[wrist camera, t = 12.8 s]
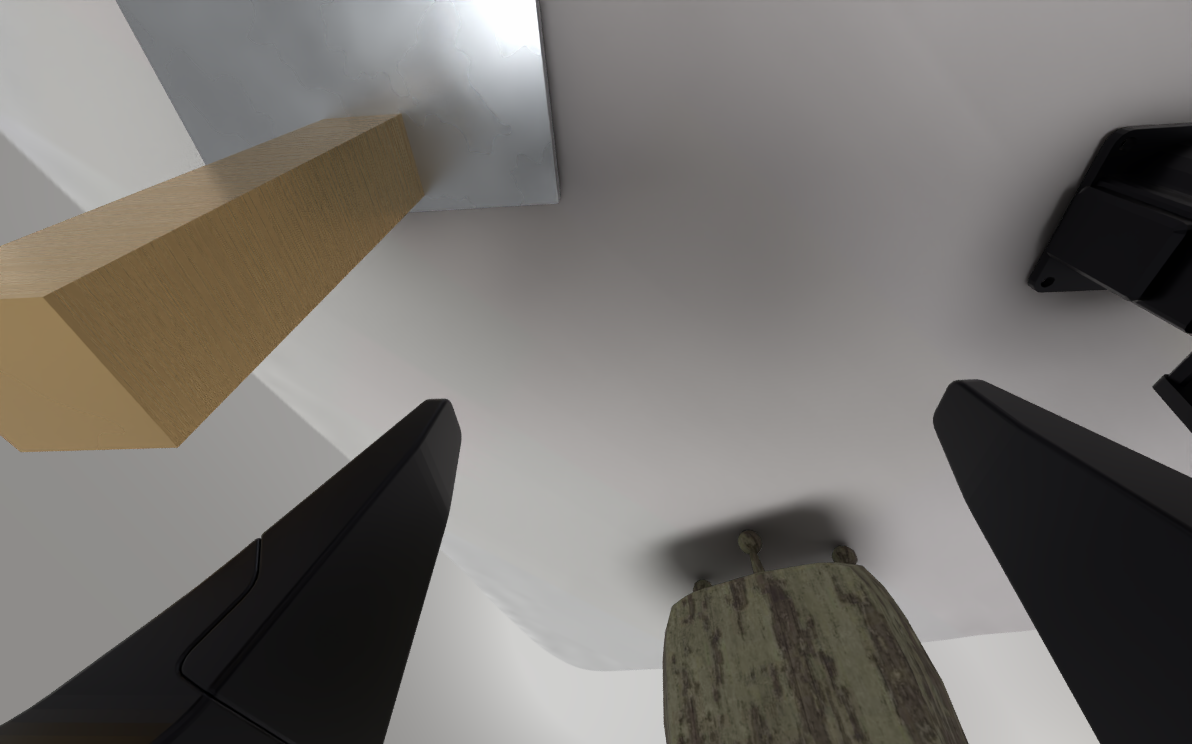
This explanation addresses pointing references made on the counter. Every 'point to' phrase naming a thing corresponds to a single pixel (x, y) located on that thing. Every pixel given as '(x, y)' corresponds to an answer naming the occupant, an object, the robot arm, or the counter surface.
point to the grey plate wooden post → (263, 200)
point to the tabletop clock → (800, 661)
